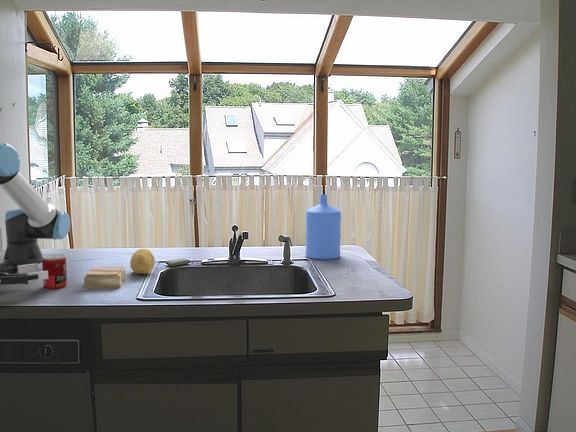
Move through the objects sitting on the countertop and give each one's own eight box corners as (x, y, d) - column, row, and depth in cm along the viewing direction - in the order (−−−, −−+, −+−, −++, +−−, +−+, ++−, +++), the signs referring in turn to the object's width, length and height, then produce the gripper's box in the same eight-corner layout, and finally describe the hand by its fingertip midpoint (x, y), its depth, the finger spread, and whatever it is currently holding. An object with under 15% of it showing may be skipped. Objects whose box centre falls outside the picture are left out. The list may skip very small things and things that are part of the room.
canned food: (59, 289, 190) (57, 258, 189) (38, 288, 192) (36, 257, 190) (71, 284, 198) (70, 254, 196) (52, 283, 199) (50, 253, 198)
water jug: (339, 260, 239) (340, 197, 235) (303, 259, 241) (303, 196, 237) (341, 253, 254) (342, 193, 250) (307, 252, 256) (308, 192, 253)
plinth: (91, 280, 203) (91, 267, 202) (125, 279, 205) (124, 266, 204) (84, 289, 191) (83, 275, 191) (120, 287, 193) (119, 274, 192)
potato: (160, 269, 221) (159, 246, 220) (147, 278, 207) (147, 253, 205) (136, 268, 222) (135, 245, 221) (122, 277, 208) (121, 253, 206)
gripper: (-32, 283, 188) (34, 274, 201) (-20, 300, 169) (53, 288, 182) (-34, 261, 187) (33, 254, 200) (-21, 276, 168) (51, 266, 181)
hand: (42, 270), depth 191 cm, fingers open, 13 cm apart
